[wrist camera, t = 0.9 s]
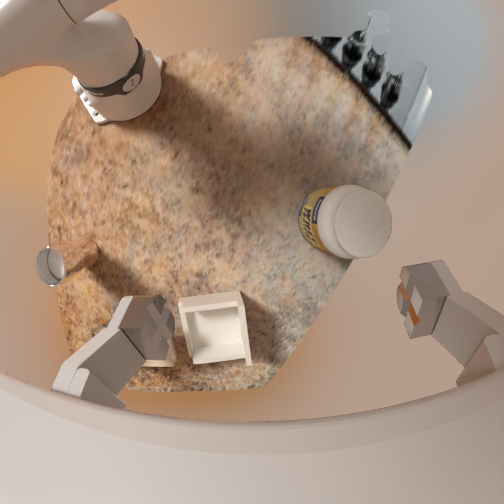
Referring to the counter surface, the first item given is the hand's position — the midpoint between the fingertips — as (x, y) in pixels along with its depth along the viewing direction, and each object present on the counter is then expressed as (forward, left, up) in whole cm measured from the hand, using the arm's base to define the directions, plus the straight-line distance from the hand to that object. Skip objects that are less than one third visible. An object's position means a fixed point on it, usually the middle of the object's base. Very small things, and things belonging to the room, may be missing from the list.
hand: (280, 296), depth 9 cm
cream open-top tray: (+12, -16, -45) cm, 49 cm away
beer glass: (-17, -23, -45) cm, 54 cm away
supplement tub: (+14, +15, -45) cm, 49 cm away
